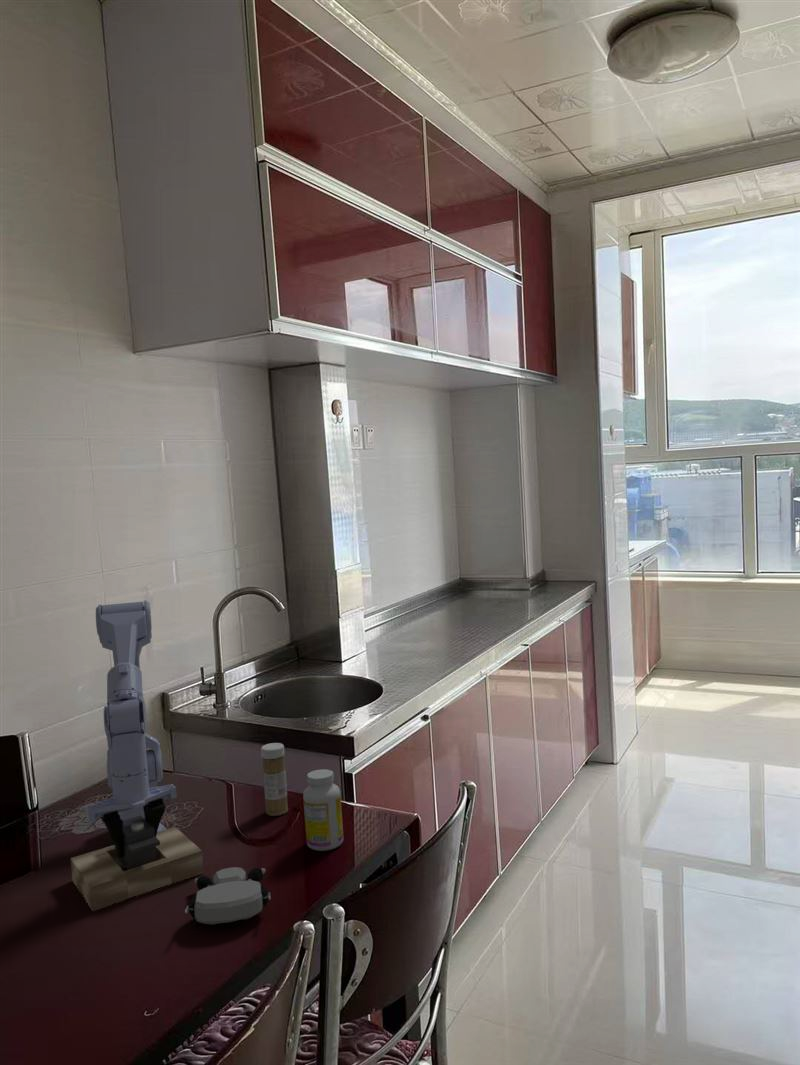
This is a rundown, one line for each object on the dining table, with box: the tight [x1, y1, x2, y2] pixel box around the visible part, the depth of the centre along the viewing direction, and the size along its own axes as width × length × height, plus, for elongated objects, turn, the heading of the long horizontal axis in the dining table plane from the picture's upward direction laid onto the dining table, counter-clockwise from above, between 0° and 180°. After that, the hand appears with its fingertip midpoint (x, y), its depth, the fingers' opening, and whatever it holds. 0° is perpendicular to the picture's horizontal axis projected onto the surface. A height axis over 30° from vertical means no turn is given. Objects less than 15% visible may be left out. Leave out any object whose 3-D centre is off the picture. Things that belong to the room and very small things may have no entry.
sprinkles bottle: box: [260, 742, 289, 817], centre depth 156 cm, size 5×5×14 cm
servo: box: [117, 815, 160, 870], centre depth 132 cm, size 12×4×7 cm, turn 36°
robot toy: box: [184, 866, 271, 926], centre depth 121 cm, size 12×4×15 cm
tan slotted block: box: [70, 826, 204, 912], centre depth 132 cm, size 13×18×4 cm
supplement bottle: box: [302, 768, 344, 852], centre depth 141 cm, size 7×7×13 cm
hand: (135, 850), depth 132 cm, fingers closed on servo, 4 cm apart
